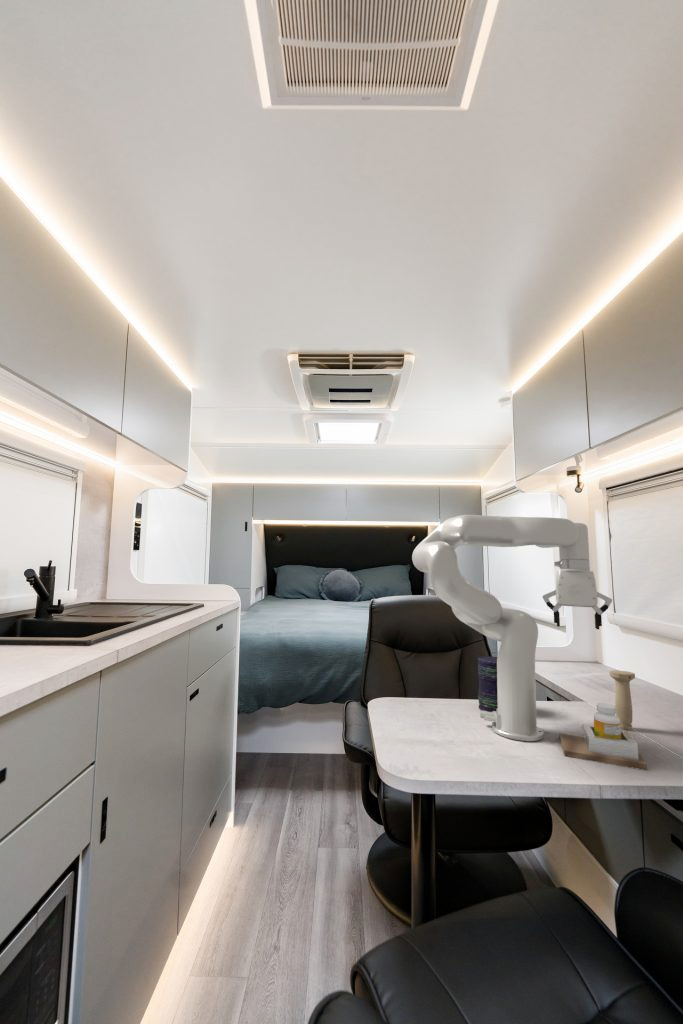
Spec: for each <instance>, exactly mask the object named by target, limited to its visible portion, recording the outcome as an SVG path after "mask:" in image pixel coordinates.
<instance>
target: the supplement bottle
mask: <svg viewBox="0 0 683 1024" xmlns="http://www.w3.org/2000/svg"><path fill="white" fill-rule="evenodd" d="M615 706H616V705H613V704H610V703H603V702H598V703H596V711H597V712H595V713H594V714H593V725H594V734H595V736H601V737H608V738H614V739H621V725H620V719H619V718H618V717H617V716H616V707H615Z"/></svg>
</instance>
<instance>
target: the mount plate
mask: <svg viewBox="0 0 683 1024" xmlns="http://www.w3.org/2000/svg"><path fill="white" fill-rule="evenodd" d="M558 739H559V743H560V745H561V749H562V752H563V755H564V757H568V758H574V759H579V760H585V761H586V760H587V761H590V760H591V761H592V762H596V761H597V763H602V762H603V763H602V764H608V763H609V764H610V765H613V764H616V765H615V766H619V765H620V767H625V766H628V767H627V768H631V767H633V769H636V768H638V769H637V770H642V769H643V770H644V771H648V764H647V763H646V761H645V760H644V758H643V757H642V756H641V754H640V753H639V752H638V760H639V761H635V760H629V759H623V758H617V757H611V756H605V755H600V754H594V753H589V751H588V749H587V746H586V744H585V742H584V740H583V736H579V735H575V734H574V735H573V734H567V733H566V734H565V733H560V732H559V733H558ZM591 761H590V762H591Z"/></svg>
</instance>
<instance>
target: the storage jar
mask: <svg viewBox="0 0 683 1024" xmlns="http://www.w3.org/2000/svg"><path fill="white" fill-rule="evenodd" d="M477 660H478V661H477V662H478V663H477V664H478V665H477V670H478V677H479V679H478V680H479V681H478V683H479V684H478V686H479V688H478V695H477V698H478V710H482V711H487V712H493V711H496V710H497V708H498V702H497V656H491V655H490V656H488V655H487V656H486V655H485V656H483V655H482V656H479V657H478V659H477Z"/></svg>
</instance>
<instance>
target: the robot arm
mask: <svg viewBox="0 0 683 1024" xmlns="http://www.w3.org/2000/svg"><path fill="white" fill-rule="evenodd" d="M588 530H589V528H588V526H587V524H585V523H582V522H574V521H572V520H571V519H568V518H562V517H546V516H545V517H544V516H543V517H542V516H540V517H539V516H538V517H537V516H535V517H534V516H532V517H531V516H529V517H527V516H526V517H525V516H500V515H499V516H498V515H496V516H495V515H483V514H482V515H481V514H480V515H479V514H461V515H457V516H453V517H449V518H447V519H445V520H444V521H443V522H441V524H439V525H438V526H437V527H436V528H435V529H434V530H433V531H432V532H430V534H428V535H427V536H426V537H425V538H424V539H422V541H420V542H419V543H418V544H417V546H416V547H415V548H414V549H413V552H412V555H411V560H412V563H413V565H414V567H415V568H416V569H417V570H418V571H420V572H423V573H426V574H429V580H430V584H431V588H432V589H433V591H434V593H435V595H436V596H437V597H438V598H439V600H441V601H443V602H444V603H446V604H447V605H449V606H450V607H451V611H452V613H453V614H454V616H455V617H456V618H457V619H458V620H459V621H460V622H462V623H464V624H465V625H467V626H468V627H470V628H472V629H473V630H475V631H477V632H479V634H482V635H484V636H485V637H487V638H489V639H491V640H492V641H493V640H494V641H497V642H500V646H499V648H498V652H497V656H496V657H497V702H498V708H497V710H496V711H493V712H487V711H482V710H480V709H479V710H480V715H479V717H480V719H484V721H488V722H492V723H491V730H492V731H493V732H494V733H496V734H497V735H499V736H501V737H504V738H507V739H510V740H516V741H523V742H537V741H540V740H542V739H543V738H544V731H543V729H541V728H540V727H538V725H537V693H536V692H537V689H536V688H537V687H536V684H537V683H536V650H537V645H538V638H539V628H538V624H537V621H536V620H535V619H534V617H532V615H531V614H529V613H527V612H525V611H522V610H519V609H513V608H506V607H502V604H501V602H500V601H499V599H498V598H497V597H496V596H495V595H494V594H492V593H491V592H489V591H487V590H485V589H483V588H482V587H480V586H478V584H477V585H476V584H475V583H474V582H472V581H470V580H469V579H468V578H466V577H465V576H464V575H462V573H461V572H460V568H459V563H458V556H457V552H456V549H457V548H458V547H461V546H462V547H463V546H472V547H473V546H477V547H494V548H495V547H496V548H497V547H499V548H513V547H514V548H517V547H525V546H535V547H538V548H541V549H550V548H558V549H559V550H558V552H559V560H558V561H554V565H553V566H554V567H557V568H559V570H557V571H556V578H555V589H554V590H552V591H550V592H548V593H545V594H543V595H542V599H543V601H544V603H545V604H546V606H547V607H548V608H549V609H551V611H553V623H554V624H556V627H560V626H561V621H560V618H561V617H560V611H559V610H560V608H561V607H563V606H564V607H575V608H576V607H578V608H579V607H580V608H591V609H593V610H594V611H595V613H594V627H595V630H600V627H602V626H603V622H602V621H603V620H602V615H603V614H604V613H605V612H606V611H607V610H608V609H609V607H610V606H611V604H612V602H613V599H612V598H611V597H608V596H607V595H605V594H602V593H601V592H598V591H597V583H596V578H595V573H594V571H591V564H590V548H589V545H590V544H589V531H588ZM554 596H555V598H556V599H555V601H556V604H553V603H552V602H551V601H550V598H551V597H554ZM598 599H601V600H602V601H604V603H603V604H602V605H601V606H600V607H598V601H599V600H598Z"/></svg>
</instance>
